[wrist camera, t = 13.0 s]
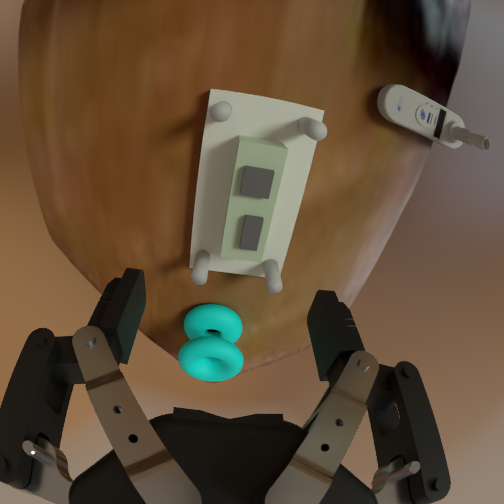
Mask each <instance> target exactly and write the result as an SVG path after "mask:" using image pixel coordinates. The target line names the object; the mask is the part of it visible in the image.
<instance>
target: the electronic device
mask: <svg viewBox="0 0 504 504" xmlns="http://www.w3.org/2000/svg"><path fill="white" fill-rule="evenodd" d="M377 105H378V109H379V112H380V113H381V115H382V116H383V117H384V118H385V119H386V120H388V121H390V122H393V123H395V124H397V125H400V126H402V127H405V128H407V129H409V130H411V131H414V132H416V133H418V134H420V135H422V136H425V137H427V138H429V139H431V140H433V141H435V142H437V143H439V144H441V145H443V146H445V147H448V148H451V149H456V148H458V147H459V146H461V145H462V143H463V142H464V143H467V144H469V145H473V146H475V147H478V148H480V149H482V150H484V151H489V150H490V148H491V141H490V139H489V138H487V137H485V136H482V135H479V134H477V133H475V132H473V131H471V130H468V129H466V128H465V125H464V123H463V121H462V119H461V118H460V117H459V116H458V115H456V114H455V113H453V112H452V111H450V110H448V109H447V108H445V107H443V106H441V105H440V104H438V103H436V102H434V101H433V100H431V99H429V98H427V97H425V96H423V95H421V94H419V93H417V92H415V91H413V90H411V89H409V88H407V87H405V86H403V85H387V86H384V87H383V88H382V89H381V90H380V92H379V94H378V99H377Z"/></svg>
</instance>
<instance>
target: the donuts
mask: <svg viewBox="0 0 504 504" xmlns="http://www.w3.org/2000/svg"><path fill="white" fill-rule="evenodd" d="M208 329H215V330H218V331H219V332H210V331H207V330H208ZM184 330H185V333H186V335H187V336H188V338H189V339H190V341H188V342H186V343H185V344H184V345H183V346H182V347H181V349H180V351H179V354H178V361H179V364H180V366H181V367H182V369H183V370H184V371H185V372H186V373H187V374H189V375H191V376H192V377H194V378H197V379H200V380H204V381H223V380H227V379H230V378H232V377H234V376H235V375H237V374H238V373H239V372H240V370H241V369H242V366H243V356H242V353H241V351H240V350H239V349H238V347H236V346H235V345H234V344H233V343H235V342H236V341H237V340H238V339H239V337H240V336H241V333H242V322H241V320H240V318H239V316H238V315H237V314H236V313H235V312H234V311H233V310H231V309H230V308H228V307H225V306H222V305H218V304H204V305H200V306H197V307H195V308H193V309H192V310H191V311H190V312H189V313H188V314H187V315H186V317H185V320H184Z"/></svg>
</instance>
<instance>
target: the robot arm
mask: <svg viewBox="0 0 504 504" xmlns="http://www.w3.org/2000/svg"><path fill="white" fill-rule="evenodd" d="M145 305H146V289H145V279H144V271H143V270H139V269H132V268H127V269H126V270H125V272H124V274H123V276H122V278H116V277H115V278H114V279H113V280H112V281H111V282H109V283H108V284H107V286H106V288H105V290H104V292H103V294H102V296H101V298H100V301H99V302H98V304H97V306H96V308H95V310H94V312H93V314H92V316H91V319H90V321H89V323H88V325H87V326H85V327H82V328H80V329H79V330H77V331H76V333H75V334H74V335H73V336H63V337H55V336H54V334H53V332H52V331H51V330H49V329H47V328H39V329H36V330H34V331H33V332H32V333H31V334H30V335H29V336H28V338H27V340H26V343H25V345H24V347H23V349H22V351H21V354H20V356H19V358H18V361H17V363H16V366H15V368H14V371H13V373H12V376H11V378H10V381H9V384H8V387H7V389H6V392H5V395H4V398H3V401H2V404H1V408H0V481H1V482H3V483H5V484H8V485H10V486H12V487H13V488H15V489H18V490H21V491H23V492H26V493H29V494H33V495H37V496H39V497H42V498H44V499H46V500H48V501H51V502H53V503H56V504H430V503H433V502H436V501H439V500H441V499H442V498H444V497H445V496H446V495H447V494H448V492H449V490H450V485H451V481H450V475H449V471H448V467H447V462H446V458H445V454H444V450H443V446H442V442H441V439H440V435H439V431H438V428H437V424H436V421H435V418H434V415H433V411H432V408H431V405H430V402H429V399H428V396H427V393H426V391H425V388H424V385H423V382H422V379H421V377H420V374H419V371H418V370H417V368H416V367H415V366H414V365H413V364H411V363H410V362H406V361H401V362H399V363H398V364H397V365H396V366H395V367H389V366H386V365H382V364H379V363H378V361H377V359H376V358H375V357H374V356H373V355H372V354H371V353H369V352H366V351H365V349H364V346H363V343H362V340H361V338H360V335H359V333H358V330H357V327H355V326H356V325H355V322H354V321H353V317H352V315H351V312H350V310H349V309H348V307H347V306H346V305H345V304H344V303H343V302H339V301H338V298H337V296H336V293H335V292H334V291H328V290H318V291H317V293H316V295H315V298H314V300H313V303H312V305H311V307H310V310H309V312H308V316H307V325H308V330H309V334H310V338H311V343H312V347H313V351H314V356H315V360H316V365H317V369H318V374H319V379H320V381H329V385H330V386H329V387H328V388H327V390H326V392H325V393H324V395H323V397H322V398H321V400H320V401H319V403H318V405H317V406H316V408H315V410H314V411H313V413H312V414H311V416H310V417H309V419H308V420H307V421H306V423H305V424H304V425H303V427H302V428H301V427H299V426H298V425H295V424H293V423H290V422H287V421H284V420H283V414H254V415H249V416H244V417H238V418H232V419H227V418H224V417H220V416H216V415H214V414H210V413H207V412H204V411H201V410H193V409H185V408H177V407H174V411H173V413H172V414H165V415H161V416H158V417H155V418H153V419H151V420H149V421H148V419H147V418H146V416H145V414H144V413H143V411H142V409H141V407H140V405H139V404H138V402H137V400H136V398H135V397H134V395H133V393H132V391H131V389H130V387H129V385H128V383H127V381H126V379H125V378H124V376H123V374H122V372H121V371H120V369H119V364H120V363H123V364H127V363H128V360H129V356H130V353H131V350H132V346H133V343H134V340H135V337H136V333H137V330H138V327H139V324H140V321H141V318H142V315H143V312H144V309H145ZM74 384H86V390H87V393H88V395H89V398H90V400H91V402H92V405H93V407H94V409H95V412H96V414H97V416H98V418H99V421H100V423H101V425H102V427H103V429H104V431H105V433H106V435H107V437H108V439H109V441H110V443H111V445H112V447H113V450H111V451H110V452H109V453H108V454H106V455H105V456H104V457H103V458H101V459H100V460H99V461H98V462H96V463H95V464H94V465H92V466H91V467H90V468H88V469H87V470H86V471H84V472H83V473H82V474H80V475H79V476H78V477H77V478H76V479H75V480H74V481H73V480H72V479H71V477H70V475H69V472H68V462H67V459H66V457H65V455H64V453H63V452H62V451H61V450H59V448H60V442H61V437H62V431H63V427H64V422H65V417H66V413H67V409H68V405H69V401H70V397H71V393H72V390H73V386H74ZM396 404H397V407H396ZM397 408H398V410H397ZM366 410H368V414H369V419H370V423H371V429H372V434H373V439H374V445H375V450H376V456H377V462H378V468H379V469H378V470H377V471H376V472H375V474H374V477H373V481H372V483H371V485H372V489H370V488H368V487H367V486H366V485H365V484H364V483H363V482H361V481H360V480H359V479H358V478H357V477H355V476H354V475H353V474H352V473H351V472H350V471H349V470H347V469H346V468H345V467H344V466H343V465H342V464H341V461H342V459H343V458H344V456H345V454H346V452H347V450H348V448H349V446H350V444H351V442H352V440H353V438H354V436H355V434H356V432H357V430H358V428H359V425H360V424H361V421H362V419H363V417H364V415H365V413H366ZM398 411H399V414H398ZM399 416H400V418H399Z"/></svg>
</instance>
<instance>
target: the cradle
mask: <svg viewBox="0 0 504 504" xmlns="http://www.w3.org/2000/svg"><path fill="white" fill-rule="evenodd" d="M323 115H324V111H323V110H319V109H315V108H311V107H308V106H304V105H300V104H295V103H291V102H287V101H282V100H277V99H272V98H267V97H262V96H256V95H251V94H245V93H238V92H231V91H224V90H216V89H211V91H210V97H209V103H208V109H207V115H206V121H205V128H204V134H203V141H202V148H201V156H200V163H199V171H198V180H197V188H196V197H195V207H194V217H193V228H192V239H191V252H190V266H189V268H193V269H192V274H191V280H192V282H193V283H195V284H197V285H202V284H204V283H206V281H207V275H208V270H211V271H219V272H227V273H235V274H243V275H252V276H260V277H265V280H266V287H267V291H268V292H270V293H278V292H280V291H281V290H282V282H281V277H280V273H281V270H282V267H283V263H284V260H285V257H286V253H287V250H288V246H289V243H290V239H291V236H292V232H293V229H294V225H295V222H296V218H297V215H298V211H299V207H300V204H301V200H302V197H303V193H304V189H305V185H306V182H307V178H308V174H309V170H310V167H311V163H312V159H313V155H314V151H315V147H316V143H317V141H319V140H322V139H324V138H325V136H326V134H327V128H326V126H325V125H324V124H323V123H322V119H323ZM239 135H244V136H250V137H256V138H261V139H267V140H272V141H277V142H282V143H283V144H284V145H285V146H286V147H287V148H288V154H287V158H286V162H285V166H284V170H283V175H282V179H281V183H280V187H279V191H278V196H277V200H276V204H275V208H274V212H273V216H272V220H271V225H270V229H269V233H268V237H267V241H266V245H265V249H264V253H263V257H262V261H261V262H253V261H245V260H237V259H230V258H222V257H220V254H221V243H222V236H223V229H224V223H225V216H226V210H227V204H228V198H229V192H230V186H231V180H232V174H233V169H234V163H235V157H236V152H237V146H238V141H239Z"/></svg>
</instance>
